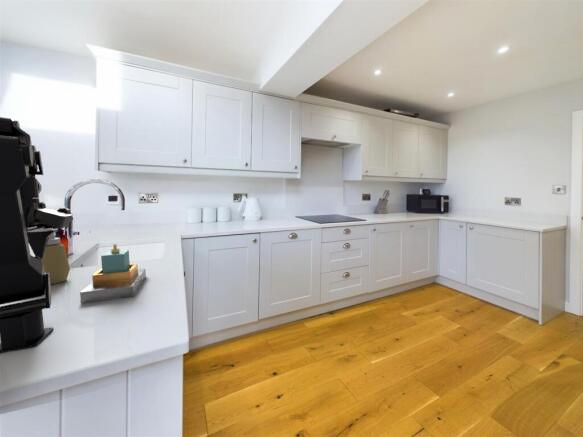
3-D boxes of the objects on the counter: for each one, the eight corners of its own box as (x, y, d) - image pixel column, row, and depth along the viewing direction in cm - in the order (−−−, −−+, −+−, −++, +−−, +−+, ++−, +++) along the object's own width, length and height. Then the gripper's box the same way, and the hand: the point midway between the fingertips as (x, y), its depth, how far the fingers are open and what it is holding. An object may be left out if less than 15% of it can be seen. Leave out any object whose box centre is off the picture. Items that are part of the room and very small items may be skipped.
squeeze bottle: (50, 287, 76) (44, 229, 75) (30, 285, 78) (23, 229, 76) (77, 278, 84) (72, 226, 83) (58, 277, 86) (53, 225, 84)
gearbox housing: (133, 296, 69) (132, 275, 69) (81, 303, 65) (79, 281, 65) (146, 275, 87) (145, 258, 87) (105, 279, 83) (104, 262, 82)
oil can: (125, 280, 74) (123, 245, 73) (103, 282, 72) (100, 246, 71) (130, 274, 79) (128, 241, 78) (109, 276, 77) (106, 243, 76)
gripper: (43, 198, 53) (50, 270, 54) (81, 197, 70) (85, 252, 71) (-30, 199, 49) (-20, 276, 50) (29, 198, 66) (35, 255, 67)
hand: (29, 263), depth 60 cm, fingers open, 9 cm apart
